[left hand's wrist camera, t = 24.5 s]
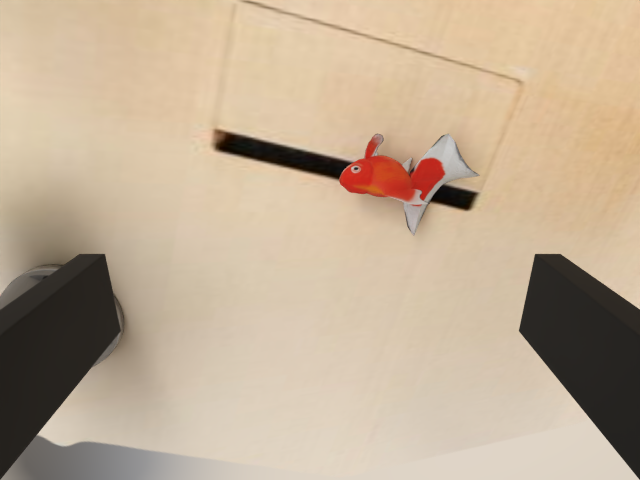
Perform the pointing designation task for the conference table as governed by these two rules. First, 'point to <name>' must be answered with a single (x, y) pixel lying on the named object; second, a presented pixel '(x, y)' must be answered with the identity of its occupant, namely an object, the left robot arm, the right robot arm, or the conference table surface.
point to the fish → (406, 176)
